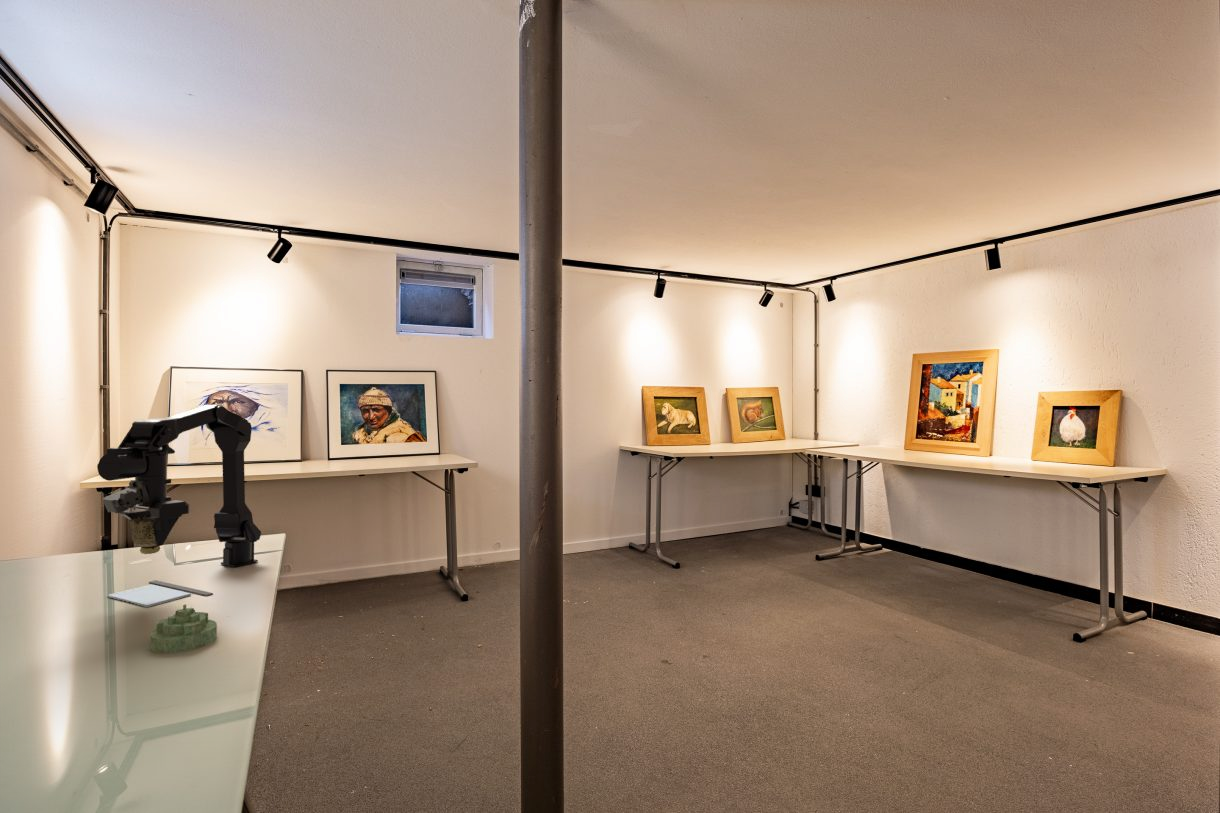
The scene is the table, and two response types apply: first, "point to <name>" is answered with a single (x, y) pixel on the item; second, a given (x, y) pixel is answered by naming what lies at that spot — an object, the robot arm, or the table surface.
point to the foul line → (182, 588)
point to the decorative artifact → (183, 632)
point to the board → (149, 595)
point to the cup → (144, 535)
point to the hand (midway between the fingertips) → (150, 544)
